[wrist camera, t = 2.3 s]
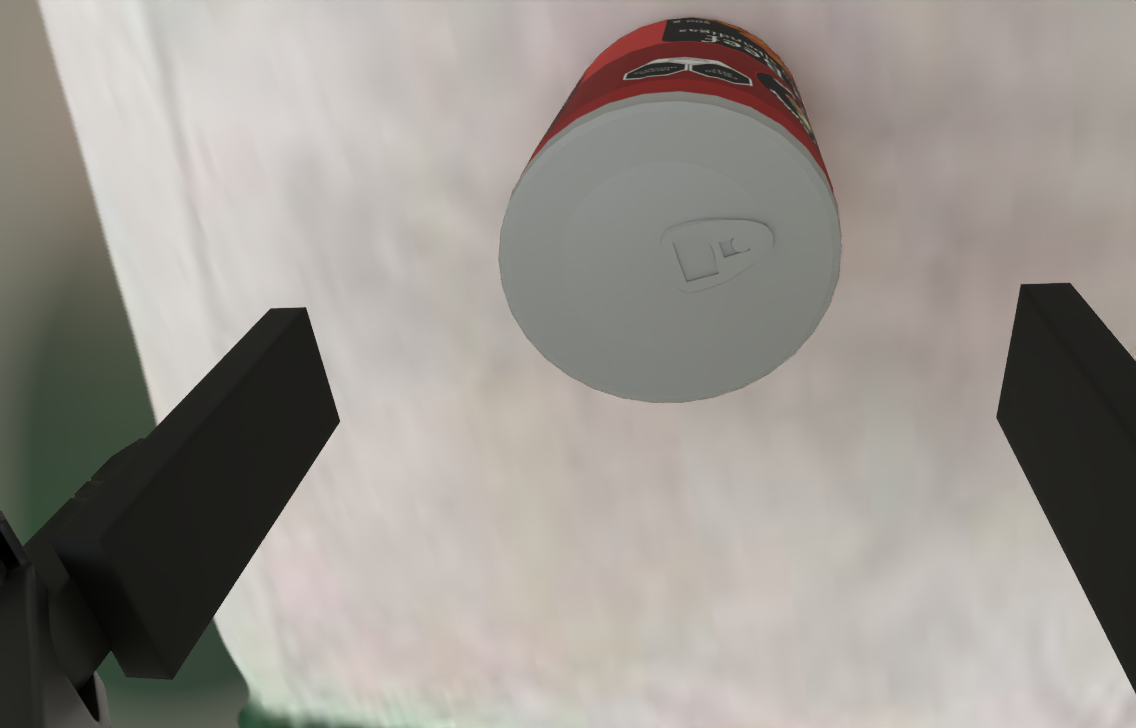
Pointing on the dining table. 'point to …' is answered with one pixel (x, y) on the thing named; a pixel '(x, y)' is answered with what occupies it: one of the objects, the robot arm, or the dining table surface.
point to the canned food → (674, 219)
